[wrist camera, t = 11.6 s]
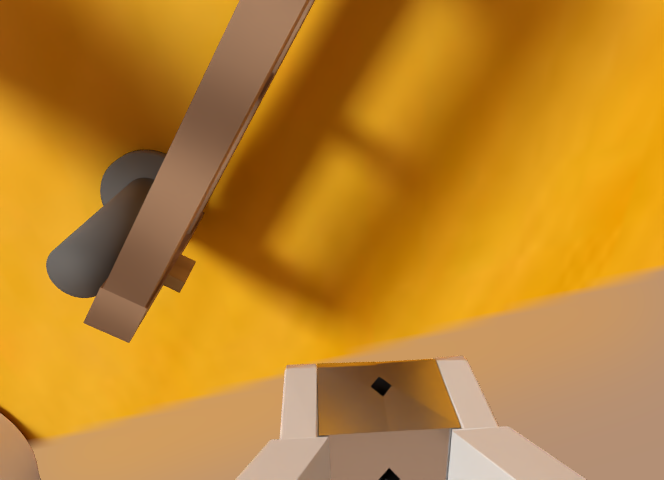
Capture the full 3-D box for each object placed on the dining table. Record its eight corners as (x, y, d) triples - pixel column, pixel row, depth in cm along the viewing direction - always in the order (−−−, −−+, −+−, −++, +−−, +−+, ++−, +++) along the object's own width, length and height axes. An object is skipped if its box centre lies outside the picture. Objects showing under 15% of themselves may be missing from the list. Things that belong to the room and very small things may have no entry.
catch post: (166, 250, 29) (103, 345, 20) (89, 198, 27) (-12, 278, 19) (215, 188, 27) (168, 265, 19) (136, 130, 26) (48, 185, 17)
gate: (355, -167, 20) (380, -306, 11) (407, -126, 20) (470, -228, 12) (160, 222, 27) (83, 322, 18) (203, 244, 27) (148, 351, 19)
